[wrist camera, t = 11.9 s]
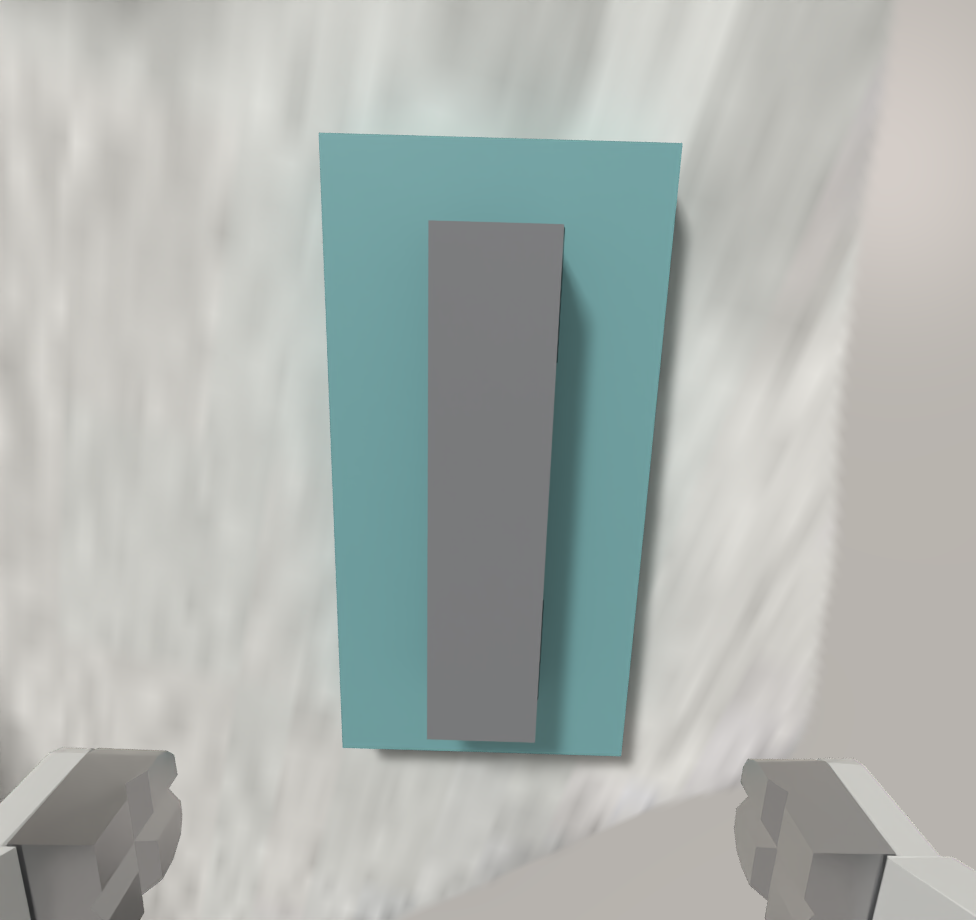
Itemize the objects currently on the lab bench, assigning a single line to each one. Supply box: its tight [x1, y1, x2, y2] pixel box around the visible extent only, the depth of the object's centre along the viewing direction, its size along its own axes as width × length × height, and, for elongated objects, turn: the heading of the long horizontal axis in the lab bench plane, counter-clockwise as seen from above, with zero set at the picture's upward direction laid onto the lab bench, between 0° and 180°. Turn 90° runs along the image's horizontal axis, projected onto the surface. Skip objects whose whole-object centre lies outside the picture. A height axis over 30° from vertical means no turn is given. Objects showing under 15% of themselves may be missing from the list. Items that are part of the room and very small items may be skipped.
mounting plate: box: [319, 133, 682, 756], centre depth 24 cm, size 24×12×2 cm, turn 178°
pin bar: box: [427, 220, 564, 743], centre depth 23 cm, size 18×4×6 cm, turn 178°
